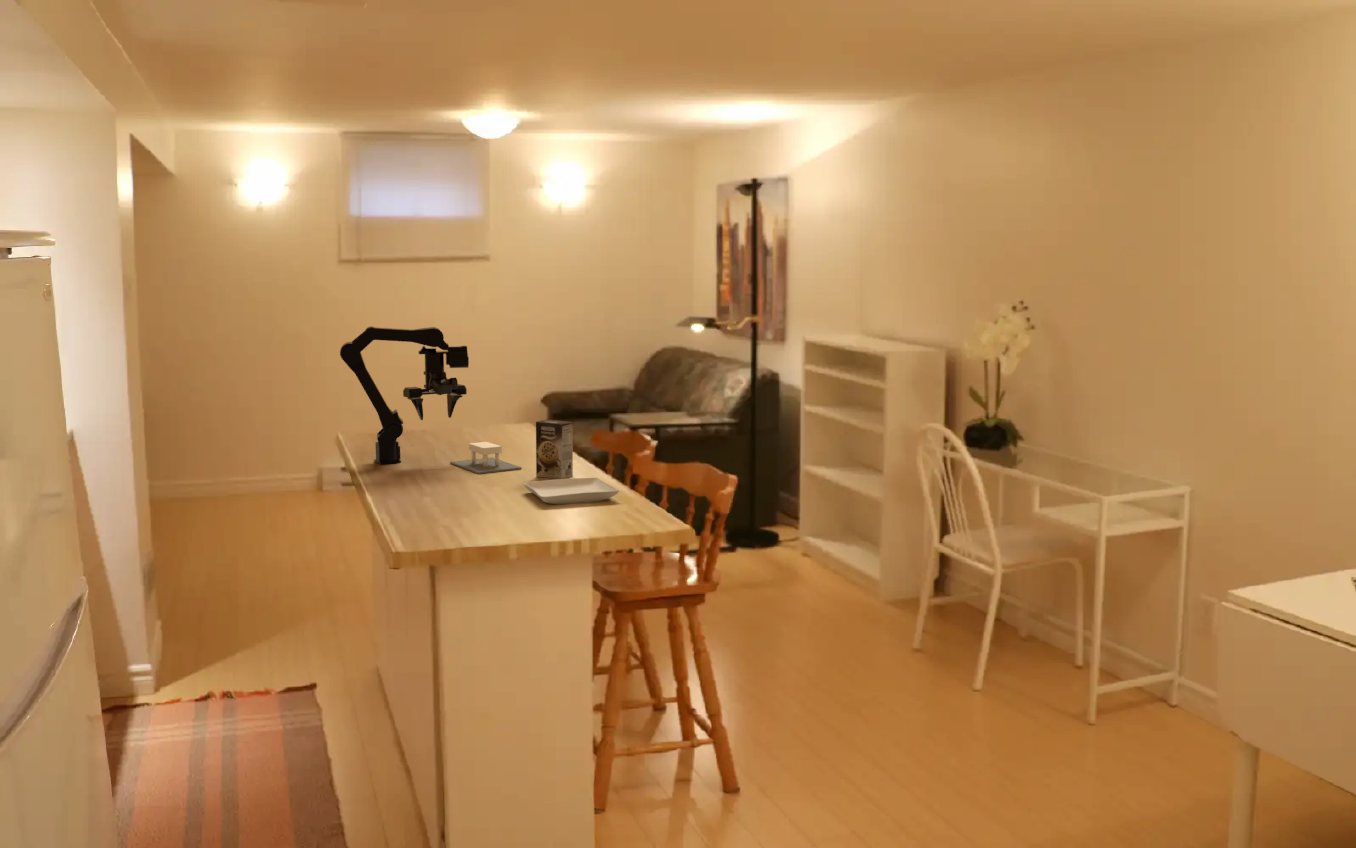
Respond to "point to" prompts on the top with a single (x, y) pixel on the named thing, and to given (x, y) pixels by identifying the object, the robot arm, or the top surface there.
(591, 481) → the salad plate
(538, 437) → the coffee box
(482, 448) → the footstool
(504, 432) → the top surface
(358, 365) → the robot arm
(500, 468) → the mat
